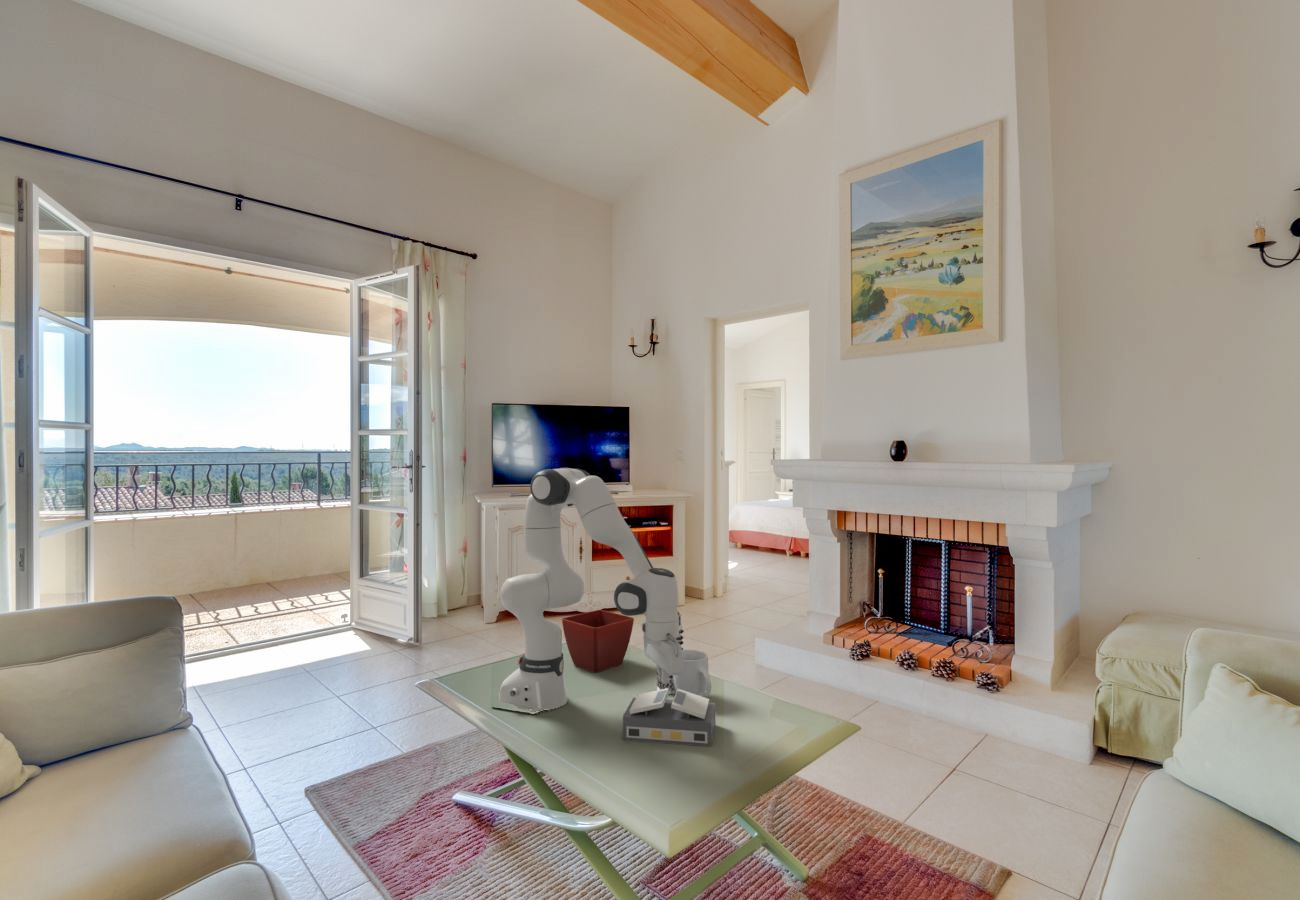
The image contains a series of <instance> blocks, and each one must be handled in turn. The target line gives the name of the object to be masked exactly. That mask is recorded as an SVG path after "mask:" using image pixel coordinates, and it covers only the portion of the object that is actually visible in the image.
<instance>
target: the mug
mask: <svg viewBox="0 0 1300 900" xmlns="http://www.w3.org/2000/svg"><path fill="white" fill-rule="evenodd" d="M682 655H683V673H682V674H679V675H673V680H674V685H675V689H676V692H677V689H681V690H684V691H687V692H690V693H693V694H696V695H699V696H702V697H705V698H707V697H708V696H709V695H710V694H711V691H712V679H711V676H710V674H709V655H708V654H707V653H706V652H704V651H700V650H695V649H683V650H682Z"/></svg>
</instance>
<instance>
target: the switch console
mask: <svg viewBox="0 0 1300 900" xmlns="http://www.w3.org/2000/svg"><path fill="white" fill-rule="evenodd" d="M635 699H636V697H633V698H632V699H631V701H630V703H629V705H628V707H627V708H626V710H625V712H624V713H623V715H622V740H623V741H633V742H646V743H657V744H658V743H659V744H672V745H683V746H684V745H685V746H696V747H709V748H710V747H712V745H713V739H714V736H715V730H716V702H710V701H709V702H708V707H707V711H706V715H705V719H703V718H700V717H697V716H694V715H691V714H688V713H685V712H682V711H679V710H676V709H673V708H671V705H672V702H673V699H666V701H665V703H664V706H663V707H662V708H657V709H652V710H647V711H643V712H638V713H633V714H630V711H629V710H630V708H631V706H632V704H633V703H634V701H635Z"/></svg>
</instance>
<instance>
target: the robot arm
mask: <svg viewBox="0 0 1300 900" xmlns="http://www.w3.org/2000/svg"><path fill="white" fill-rule="evenodd" d="M566 506H567V507H572V506H574V507H575V508H576V510H577V513H578V515H579V517H580V521H581V523H582V526H583V528H584V530H585V532H586V534H587V535H588V536H589V538H590V539H591V540H592V541H594V542H596V543H598V544H602V545H606V546H609V547H611V548H612V549H614V550H616V551H618V552H619V554H620V555H621V556H622V558H623V559H624V561H625V562H626V565H627V566H628V568H629V570H630V571H631V574H632V575H633V578H631V579H628V580H624V581H623V582H621V583H620V584H618V585H616V586H617V587H616V588H615V590H614V593H613V601H614V605H615V607H616V609H617V610H618V612H620V614H621V615H624V616H628V617H632V616H639V615H640V616H641V615H643V616H645V621H644V622H642V623H641V631H642V632H643V648H644V653H645V656H646V657H647V658H648V659H649V660H651V661H652V662H653V663H654V664H655V665H656V671H657V672H658V674H659V681H660V682H662V683H663V684H668V683H669V675H679V674H682V673H683V655H682V648H683V647H682V645H680V644H679V643H678V642H677V639H676V638H678V637H679V617H678V613H677V610H678V605H679V590H678V582H677V577H676V575H675V573H674V572H672V571H671V570H669V569H666V568H662V567H654V566H653V564H652V563H651V561H650V559H649V557H648V556H647V553H646V552H645V550H644V548H643V546H642V545H641V543H640V541H639V540H638V538H637V536H636V534H635V533H634V531H633V530H632V528H631V527H630V526H629V525H628V523H627V522H626V520H625V519H624V517H623V515H622V513H621V511H620V510H619V507H618V506H617V503H616V501H615V498H614V497H613V494H612V493H611V491H610V489H609V488H608V486H607V484H606V483H605V482H604V480H603V479H602V478H601V477H599V476H597V475H591V474H590V473H589V472H587V471H586V470H583V469H581V468H569V467H560V468H552V469H551V468H548V469H547V468H546V469H542V470H540V471H538V472H536V474H534V476H533V477H532V479H531V481H530V494H529V496H528V497H527V499H526V504H525V508H524V520H523V522H524V523H523V524H524V525H523V534H524V535H523V539H524V540H523V542H524V543H523V544H524V545H523V546H524V547H523V548H524V549H523V550H524V553H525V555H526V556H527V558H529V559H531V560H533V561H534V562H537V563H539V564H541V566H542V572H536V573H527V574H526V573H525V574H519V575H516V576H512V577H509V578H506V580H505V581H504V582H503V584H502V585H501V588H500V593H499V598H500V603H501V604H502V606H503V607H504V609H506V610H507V611H508V612H510V613H511V614H513V616H514V617H516V619H517V620H518V621H519V624H520V625H521V627H522V631H523V638H524V640H523V641H524V653H522V656H520V657H519V659H518V660H517V664H516V665H517V666H519V667H517V669H515V670H514V671H513V672H512V673H510V674H509V675H508V676H506V678H505V679H504V680H503V682H502V683H501V685H500V689H499V693H498V694H499V701H501V702H505V703H509V704H513V705H515V706H516V707H517V706H518V707H517V708H519V709H522V710H526V711H530V712H536V711H541V710H544V709H553V710H555V709H554V708H556V709H559V708H561V707H564V706H565V705H566V704H567V702H568V699H569V698H568V696H567V693H566V687H565V684H564V683H565V682H564V676H563V675H564V674H563V673H564V667H565V666H564V665H565V664H564V663H565V662H564V661H565V660H564V653H563V647H562V645H563V644H562V643H563V642H562V640H563V639H562V637H563V635H562V634H563V633H562V629H561V627H560V625H559V624H558V623H557V622H555V621H553V620H551V619H547V618H545V617H544V611H545V610H549V609H558V608H565V607H568V606H571V605H574V604H578V603H579V602H580V601H581V600H582V598H583V596H584V592H585V583H584V580H583V578H582V576H581V575H580V574H579V573H578V572H577V571H576V570H574V569H573V568H572V567H571V566H570V565H569V564H568V562H567V560H566V559H565V556H564V552H563V548H562V547H563V545H562V534H561V533H562V532H561V530H562V529H561V527H562V526H561V513H562V510H563V508H564V507H566ZM681 647H682V648H681ZM560 706H561V707H560ZM558 707H559V708H558ZM527 709H528V710H527ZM529 709H532V710H529Z"/></svg>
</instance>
